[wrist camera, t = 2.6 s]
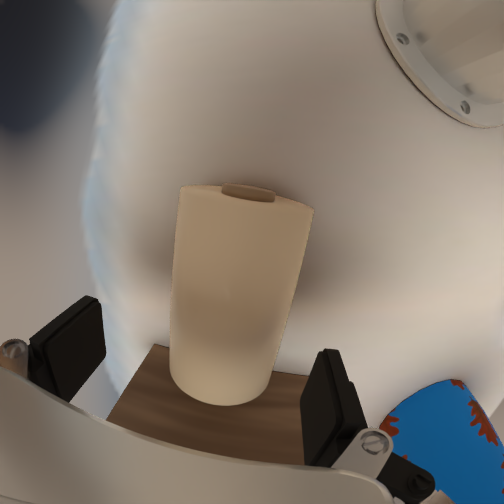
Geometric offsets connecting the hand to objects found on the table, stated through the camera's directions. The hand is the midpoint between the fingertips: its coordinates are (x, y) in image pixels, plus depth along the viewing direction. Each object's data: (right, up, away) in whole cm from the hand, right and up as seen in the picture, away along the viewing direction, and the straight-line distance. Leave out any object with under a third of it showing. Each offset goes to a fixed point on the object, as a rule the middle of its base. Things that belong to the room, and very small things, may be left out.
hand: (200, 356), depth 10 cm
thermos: (+19, -12, +9) cm, 25 cm away
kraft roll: (+1, +3, +6) cm, 7 cm away
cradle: (-1, -11, +11) cm, 16 cm away
